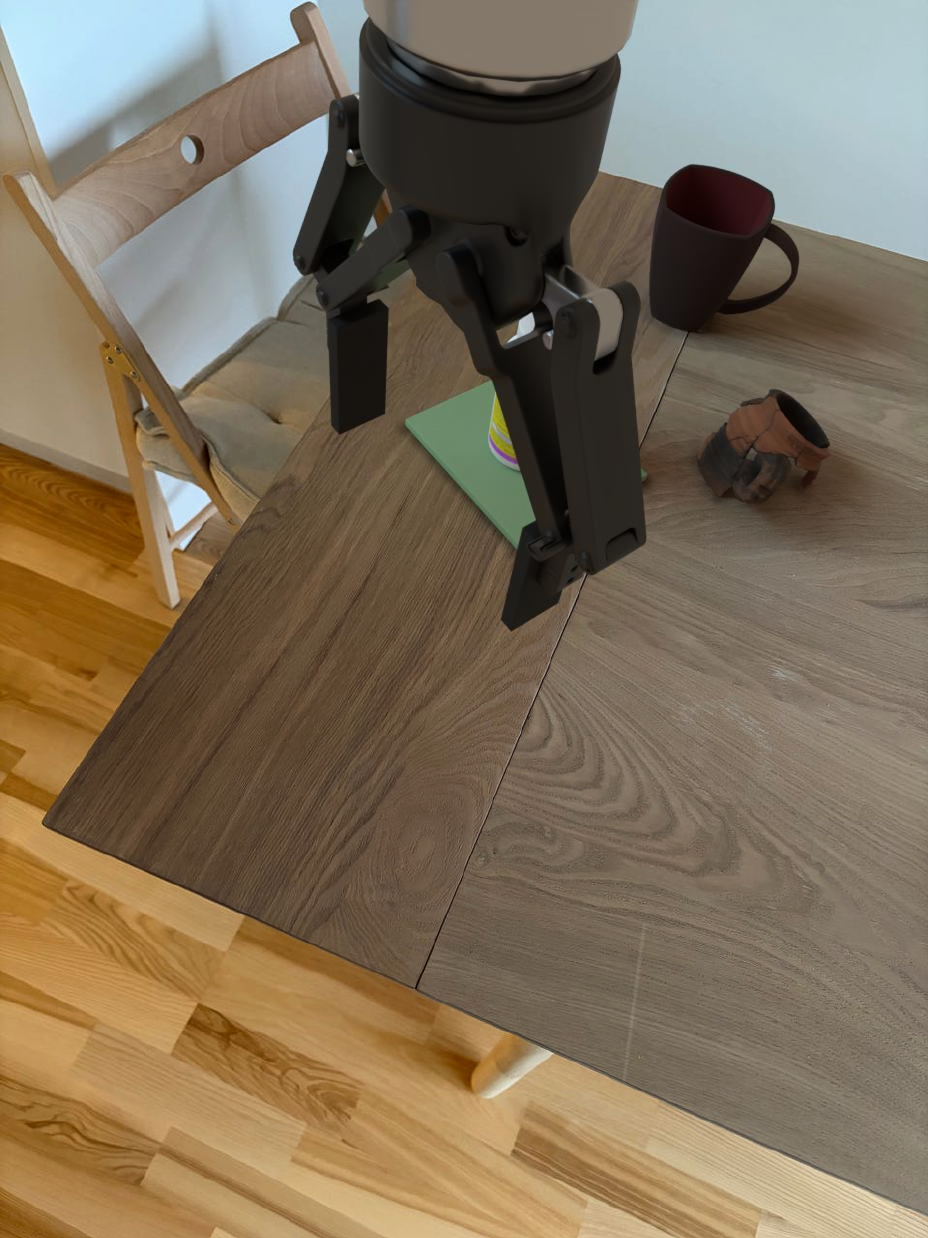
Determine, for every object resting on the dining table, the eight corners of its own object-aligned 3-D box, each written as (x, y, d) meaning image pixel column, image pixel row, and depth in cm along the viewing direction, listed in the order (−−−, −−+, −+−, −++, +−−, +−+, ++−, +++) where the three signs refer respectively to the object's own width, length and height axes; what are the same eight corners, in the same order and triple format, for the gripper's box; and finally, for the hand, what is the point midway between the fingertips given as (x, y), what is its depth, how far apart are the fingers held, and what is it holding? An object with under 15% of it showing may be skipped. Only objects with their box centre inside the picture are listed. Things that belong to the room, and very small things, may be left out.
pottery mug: (689, 428, 85) (758, 362, 80) (764, 487, 87) (836, 427, 82) (689, 502, 76) (767, 433, 71) (773, 565, 79) (854, 503, 73)
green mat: (404, 425, 81) (405, 418, 81) (530, 367, 87) (532, 360, 86) (517, 550, 75) (518, 544, 74) (645, 480, 80) (648, 474, 80)
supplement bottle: (557, 483, 78) (586, 365, 67) (479, 465, 79) (497, 345, 68) (570, 427, 82) (600, 307, 71) (496, 410, 82) (515, 287, 71)
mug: (650, 265, 96) (683, 154, 86) (779, 312, 94) (829, 203, 84) (617, 321, 91) (648, 209, 81) (753, 372, 89) (802, 264, 79)
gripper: (158, -129, 30) (233, 378, 47) (713, 337, 20) (546, 753, 38) (358, -163, 33) (358, 326, 50) (925, 230, 23) (678, 663, 41)
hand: (438, 510), depth 44 cm, fingers open, 13 cm apart
